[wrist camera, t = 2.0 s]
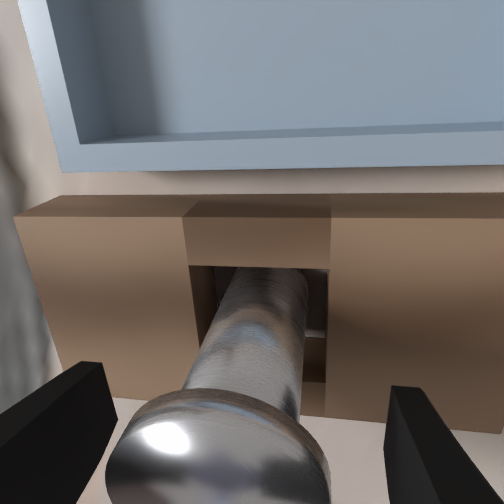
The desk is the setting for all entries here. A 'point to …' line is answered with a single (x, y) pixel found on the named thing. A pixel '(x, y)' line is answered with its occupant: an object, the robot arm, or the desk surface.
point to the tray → (269, 82)
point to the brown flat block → (285, 256)
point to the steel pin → (231, 411)
